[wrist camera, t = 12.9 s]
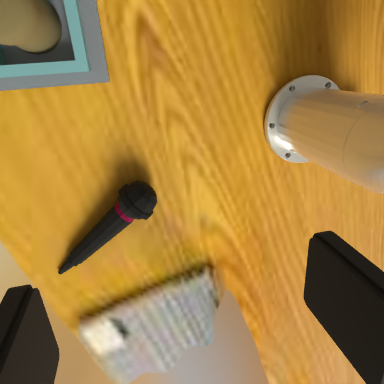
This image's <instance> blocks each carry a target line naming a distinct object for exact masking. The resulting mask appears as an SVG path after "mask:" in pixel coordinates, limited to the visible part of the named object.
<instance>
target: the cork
mask: <svg viewBox="0 0 384 384" xmlns="http://www.w3.org/2000/svg"><path fill="white" fill-rule="evenodd" d="M61 36H62V23H61V20H60V17H59V14H58V13H57V11H56V10H55V8H54V6H53V5H52V4H51V3H49V2H48V1H47V0H0V44H3V45H10V46H13V45H15V46H17V47H18V48H20V49H22V50H24V51H26V52H28V53H32V54H38V55H39V54H45V53H48V52H50V51H51V50H53V49H55V47H56V46H57V45H58V43H59V42H60V39H61Z"/></svg>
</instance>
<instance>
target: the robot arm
mask: <svg viewBox="0 0 384 384" xmlns="http://www.w3.org/2000/svg"><path fill="white" fill-rule="evenodd" d="M289 88H290V90H289ZM270 123H271V125H270ZM269 125H270V126H269ZM264 130H265V136H266V140H267V143H268V144H269V146H270V148H271V149H272V150H273V152H274V153H275V154H277V155H278V156H279V157H281V158H283V159H284V160H286V161H290V162H295V163H302V162H308V161H312V162H314V163H315V164H317V165H319V166H321V167H323V168H325V169H327V170H329V171H331V172H333V173H335V174H337V175H339V176H341V177H343V178H345V179H347V180H349V181H351V182H353V183H355V184H357V185H359V186H361V187H363V188H365V189H367V190H369V191H372V192H375V193H379V194H384V95H379V94H370V93H362V92H353V91H344V90H340V89H339V87H338V86H337V85H336V84H335V83H334V82H333V81H331V80H330V79H328V78H326V77H322V76H319V75H306V76H301V77H298V78H295V79H293V80H291V81H289V82H288V83H287V84H285V85H284V86H283V87H282V88H281V89H280V90H279V91H278V92H277V93H276V94H275V96H274V97H273V99H272V100H271V102H270V104H269V106H268V109H267V112H266V116H265V123H264ZM285 154H286V155H285ZM304 300H305V303H306V305H307V307H308V308H309V309H310V310H311V312H312V313H313V314H314V316H315V317H316V318H317V320H318V321H319V322H320V324H321V325H322V326H323V327H324V329H325V330H326V331H327V333H328V334H329V335H330V337H331V338H332V339H333V341H334V342H335V343H336V345H337V346H338V347H339V348H340V350H341V351H342V352H343V354H344V355H345V356H346V358H347V359H348V360H349V362H350V363H351V364H352V365H353V367H354V368H355V369H356V371H357V372H358V373H359V375H360V376H361V377H362V379H363V380H364V381H365V383H366V384H384V272H383V271H382V270H381V269H379V268H378V267H377V266H376V265H374V264H373V263H372V262H371V261H369V260H368V259H367V258H365V257H364V256H363V255H362V254H360V253H359V252H358V251H357V250H355V249H354V248H353V247H352V246H350V245H349V244H348V243H347V242H345V241H344V240H343V239H342V238H340V237H339V236H338V235H337V234H335V233H334V232H332V231H325V232H319V233H315V234H314V235H313V238H311V239H310V241H309V249H308V258H307V268H306V277H305V287H304ZM58 362H59V348H58V345H57V342H56V339H55V336H54V333H53V330H52V327H51V325H50V321H49V318H48V316H47V313H46V310H45V307H44V304H43V301H42V298H41V295H40V292H39V290H38V288H34V289H33V288H32V286H31V285H23V286H18V287H13V288H9V289H8V290H7V292H6V294H5V296H4V298H3V300H2V302H1V304H0V384H54V380H55V375H56V371H57V367H58Z"/></svg>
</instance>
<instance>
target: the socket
mask: <svg viewBox="0 0 384 384" xmlns="http://www.w3.org/2000/svg"><path fill="white" fill-rule="evenodd" d="M47 1H48V2H49V3H51V4H52V5H53V6H54V8H55V10H56V11H57V13H58V14H59V17H60V20H61V23H62V36H61V39H60V42H59V43H58V45H57V46H56V47H55V49H53V50H51V51H50V52H48V53H45V54H39V55H38V54H32V53H28V52H26V51H24V50H22V49H20V48H18V47H17V46H15V45H13V46H10V45H3V44H0V91H3V90H16V89H28V88H41V87H53V86H66V85H78V84H91V83H103V82H110V81H109V75H108V69H107V63H106V57H105V51H104V45H103V39H102V32H101V26H100V20H99V14H98V8H97V2H96V0H47Z"/></svg>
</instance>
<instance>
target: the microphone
mask: <svg viewBox="0 0 384 384" xmlns="http://www.w3.org/2000/svg"><path fill="white" fill-rule="evenodd" d="M118 200H119V203H117V204H116V205H115V206H114V207H113V208H112V209H111V210H110V211H109V212H108V213H107V214H106V215H105V216H104V218H103V219H102V220H101V221H100V222H99V223H98V224H97V225H96V226H95V227H94V228H93V229H92V230H91V231H90V233H89V234H88V235H87V236H86V237H85V238H84V239H83V240H82V241H81V242H80V243H79V244H78V245H77V246H76V247H75V249H74V250H73V251H72V252H71V253H70V256H69V257H68V258H67V261H66V262H65V263H64V264H63V266H62V267H61V269H60V270H59V271H58V273H59V274H62V273H64V272H66V271H67V270H69V269H70V268H72V267H73V266H77V265H78V264H81V263H82V262H83V261H85V260H86V259H87V258H88V257H89V256H91V255H92V254H93V253H94V252H96V251H97V250H98V249H99V248H101V247H102V246H103V245H104V244H106V243H107V242H108V241H109V240H111V239H112V238H113V237H114V236H116V235H117V234H118V233H119V232H121V231H122V230H123V229H124V228H125V227H127V226H128V225H129V224H130V223H132V221H133V220H134V219H148V218H149V217H150V216H151V215H152V213H153V209H154V207H155V206H156V204H157V197H156V193H155V191H154V190H153V188H152V187H151V186H150V185H148V184H147V183H144V182H140V181H136V182H133V183H131V184H130V185H127V184H126V185H125V186H123V187H122V188H121V189H120V190H119V197H118Z"/></svg>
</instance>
